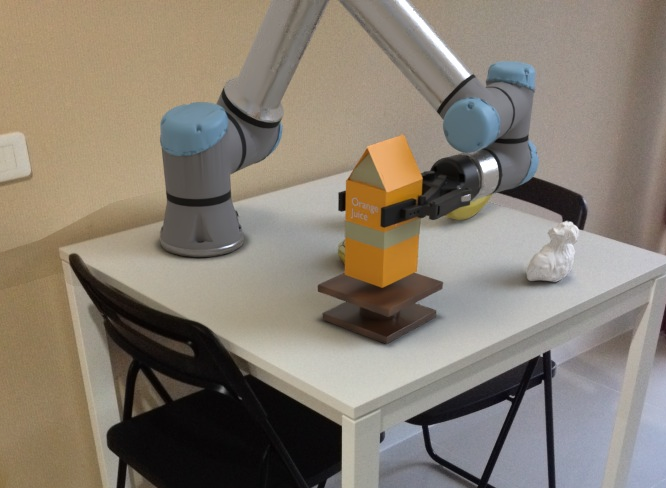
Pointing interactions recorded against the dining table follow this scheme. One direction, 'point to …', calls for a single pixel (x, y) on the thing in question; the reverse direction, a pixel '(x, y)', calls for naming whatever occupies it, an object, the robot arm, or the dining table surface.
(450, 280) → the dining table surface
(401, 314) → the stand
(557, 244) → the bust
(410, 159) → the orange juice
